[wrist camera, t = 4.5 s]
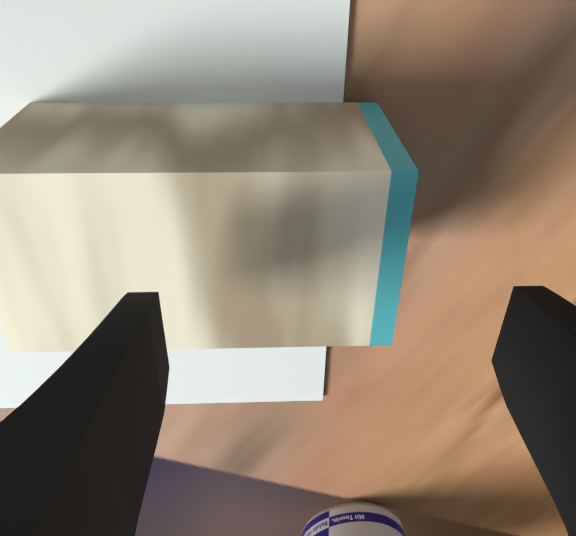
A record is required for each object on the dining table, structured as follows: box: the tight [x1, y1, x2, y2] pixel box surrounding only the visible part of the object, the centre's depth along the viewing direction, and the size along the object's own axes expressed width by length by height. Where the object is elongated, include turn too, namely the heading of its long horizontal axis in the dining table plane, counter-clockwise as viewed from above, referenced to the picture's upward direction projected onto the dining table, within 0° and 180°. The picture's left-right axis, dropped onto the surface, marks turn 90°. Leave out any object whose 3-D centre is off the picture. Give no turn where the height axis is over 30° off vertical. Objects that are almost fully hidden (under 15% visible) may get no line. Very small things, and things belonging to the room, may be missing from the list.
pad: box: [0, 0, 350, 408], centre depth 17 cm, size 20×20×1 cm
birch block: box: [0, 102, 419, 353], centre depth 15 cm, size 5×5×10 cm
